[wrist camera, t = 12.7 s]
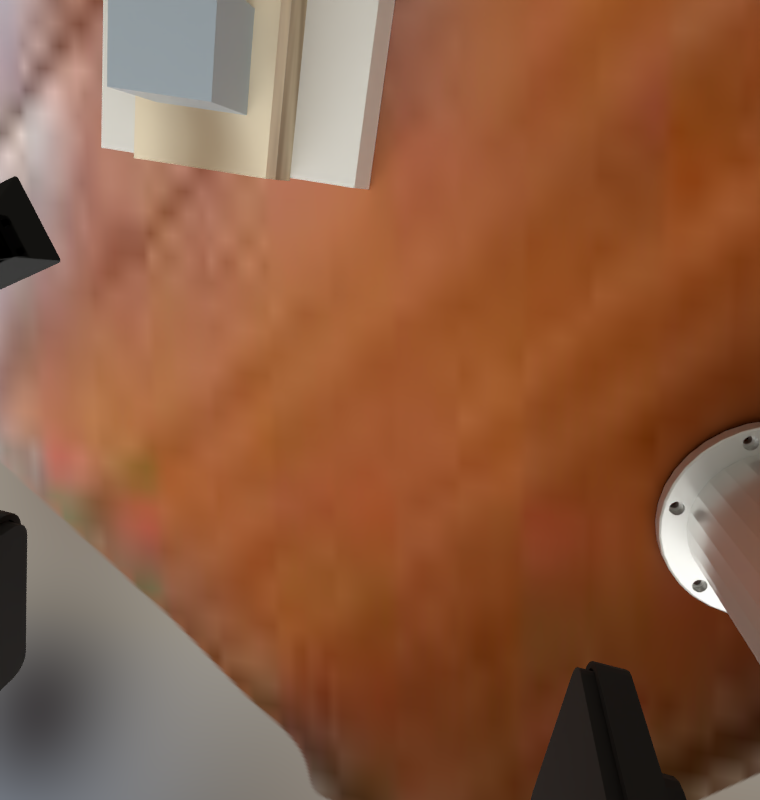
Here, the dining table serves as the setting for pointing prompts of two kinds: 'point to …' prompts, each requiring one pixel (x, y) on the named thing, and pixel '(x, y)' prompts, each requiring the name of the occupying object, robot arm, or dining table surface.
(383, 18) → the dock
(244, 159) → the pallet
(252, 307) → the dining table surface
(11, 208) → the black piece
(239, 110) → the block
